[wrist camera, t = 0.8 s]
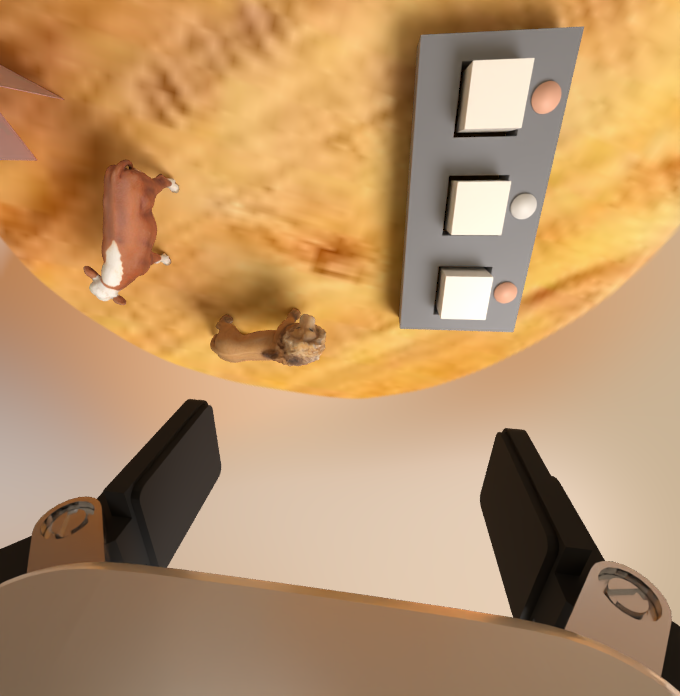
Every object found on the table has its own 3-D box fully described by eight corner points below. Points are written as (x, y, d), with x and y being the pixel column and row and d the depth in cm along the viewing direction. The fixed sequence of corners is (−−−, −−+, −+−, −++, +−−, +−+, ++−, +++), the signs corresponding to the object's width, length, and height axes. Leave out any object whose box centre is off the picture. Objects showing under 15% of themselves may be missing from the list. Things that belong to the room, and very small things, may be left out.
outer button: (440, 266, 34) (446, 276, 31) (483, 266, 34) (493, 277, 31) (435, 305, 36) (440, 318, 33) (476, 306, 36) (485, 319, 32)
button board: (417, 47, 28) (421, 34, 25) (564, 40, 27) (585, 25, 24) (398, 317, 38) (400, 329, 36) (504, 320, 37) (514, 332, 35)
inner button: (462, 72, 27) (473, 60, 24) (517, 70, 27) (534, 58, 24) (455, 133, 29) (464, 129, 26) (506, 131, 29) (521, 127, 26)
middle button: (450, 180, 31) (457, 181, 28) (498, 179, 30) (511, 181, 27) (444, 228, 32) (451, 234, 29) (489, 228, 32) (501, 235, 29)
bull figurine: (128, 278, 40) (72, 303, 33) (147, 153, 34) (83, 150, 26) (166, 294, 40) (118, 322, 33) (191, 174, 34) (140, 177, 27)
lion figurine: (327, 289, 38) (312, 321, 30) (340, 333, 40) (330, 374, 32) (207, 318, 41) (164, 354, 33) (225, 357, 43) (189, 400, 35)
